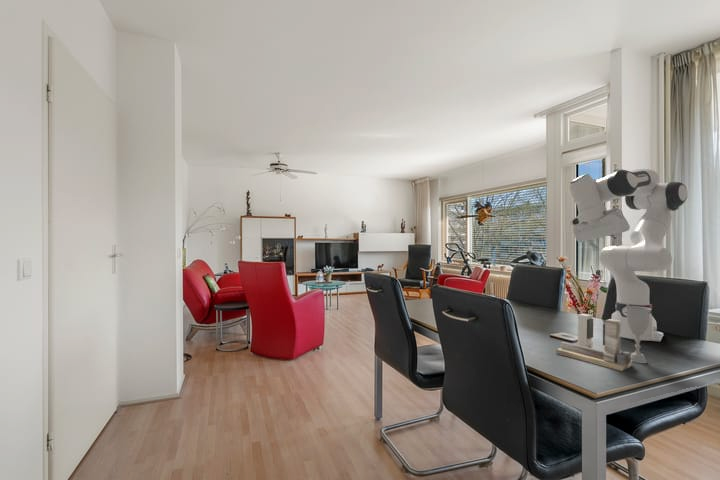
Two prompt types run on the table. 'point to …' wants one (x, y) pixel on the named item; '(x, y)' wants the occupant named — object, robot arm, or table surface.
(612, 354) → the wooden stand
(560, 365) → the table surface
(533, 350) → the table surface
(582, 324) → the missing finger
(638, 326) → the chalice
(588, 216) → the robot arm
